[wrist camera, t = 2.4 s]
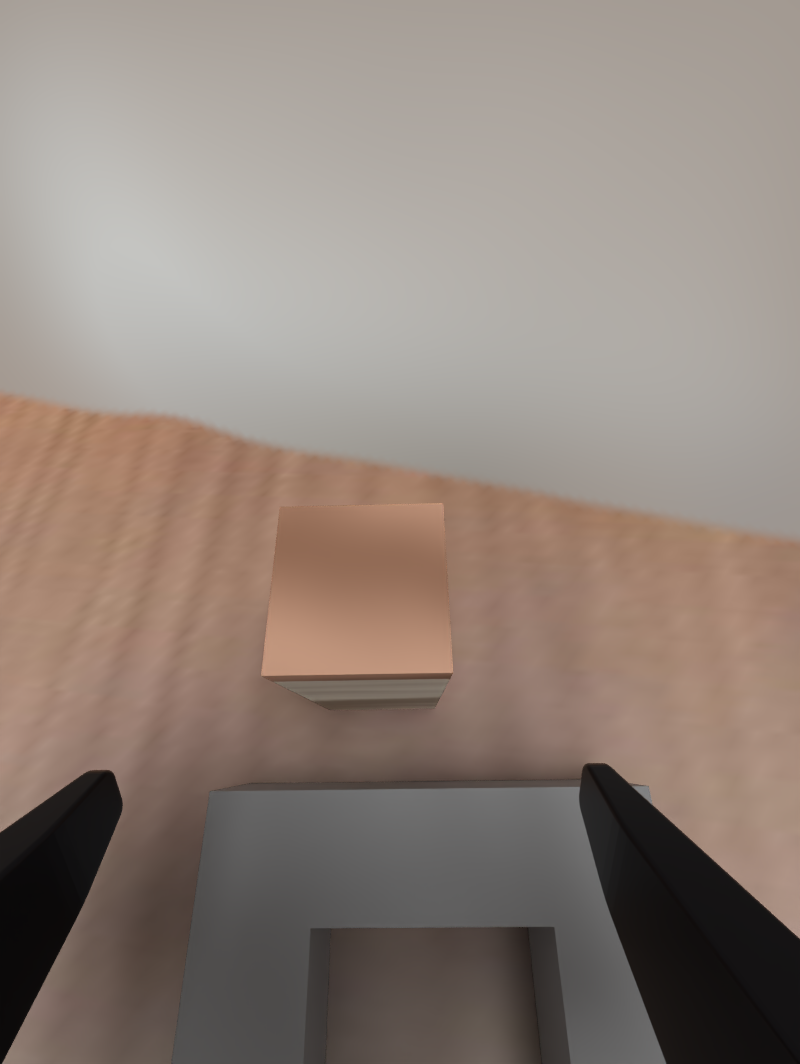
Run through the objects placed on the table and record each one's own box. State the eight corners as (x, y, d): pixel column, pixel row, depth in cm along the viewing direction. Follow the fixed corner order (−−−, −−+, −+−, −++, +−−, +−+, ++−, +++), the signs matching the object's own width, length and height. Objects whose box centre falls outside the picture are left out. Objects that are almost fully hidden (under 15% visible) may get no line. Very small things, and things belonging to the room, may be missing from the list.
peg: (434, 708, 20) (453, 672, 11) (330, 710, 20) (261, 675, 11) (430, 607, 22) (442, 503, 12) (335, 609, 22) (279, 507, 13)
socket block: (705, 1373, 12) (825, 1629, 9) (184, 1367, 13) (93, 1615, 9) (602, 779, 18) (648, 786, 15) (249, 783, 19) (210, 791, 15)
